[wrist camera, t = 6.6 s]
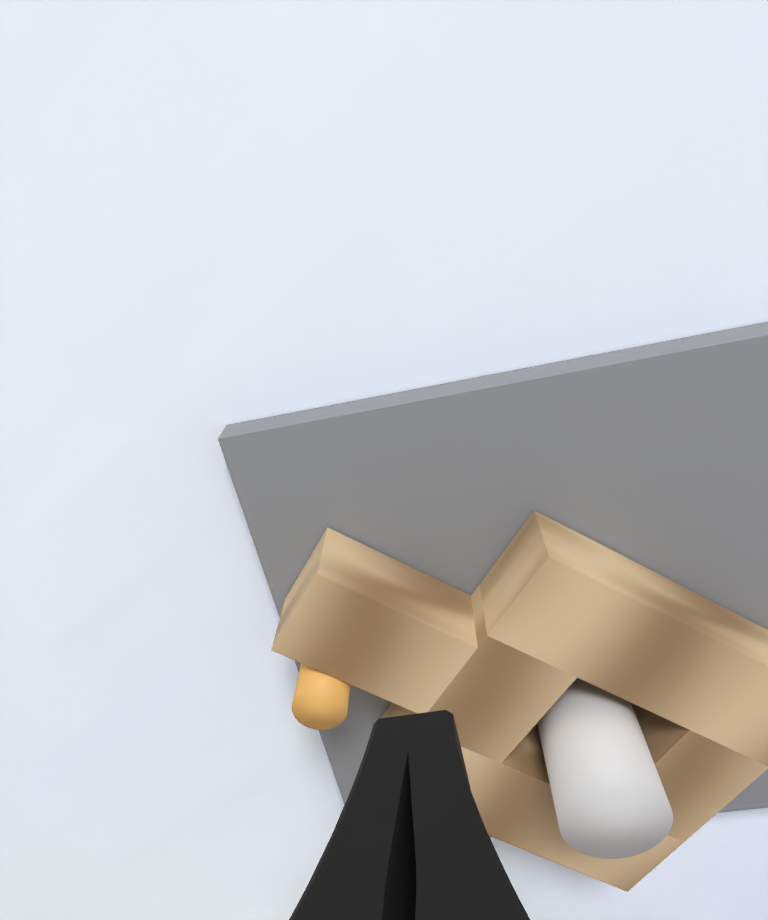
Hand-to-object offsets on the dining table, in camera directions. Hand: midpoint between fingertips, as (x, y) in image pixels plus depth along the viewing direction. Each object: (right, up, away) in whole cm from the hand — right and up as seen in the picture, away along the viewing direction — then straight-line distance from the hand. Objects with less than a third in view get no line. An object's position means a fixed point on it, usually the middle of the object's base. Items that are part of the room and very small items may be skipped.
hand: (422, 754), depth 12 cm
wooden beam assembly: (+3, -1, +10) cm, 11 cm away
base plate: (+5, 0, +11) cm, 12 cm away
